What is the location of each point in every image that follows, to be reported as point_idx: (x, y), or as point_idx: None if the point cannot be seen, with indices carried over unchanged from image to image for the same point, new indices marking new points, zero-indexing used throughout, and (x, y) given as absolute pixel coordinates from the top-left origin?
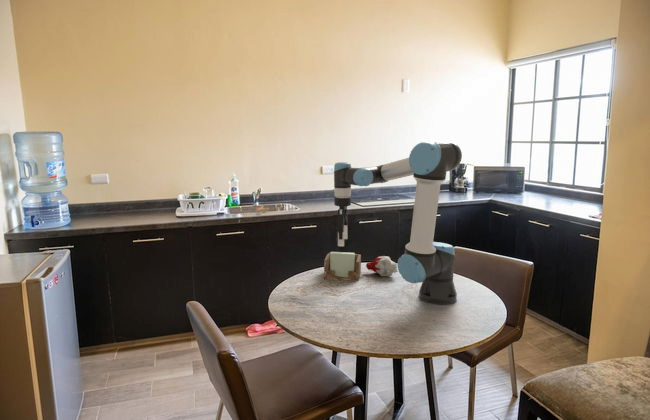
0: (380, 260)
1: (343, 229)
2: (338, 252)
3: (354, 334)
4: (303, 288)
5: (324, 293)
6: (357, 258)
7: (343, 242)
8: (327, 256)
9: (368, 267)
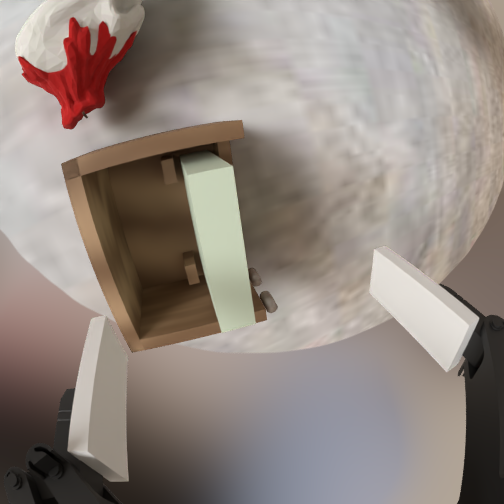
0: (117, 14)
1: (499, 338)
2: (220, 289)
3: (498, 111)
4: (343, 289)
5: (373, 214)
6: (162, 151)
7: (407, 265)
8: (195, 333)
9: (104, 101)
